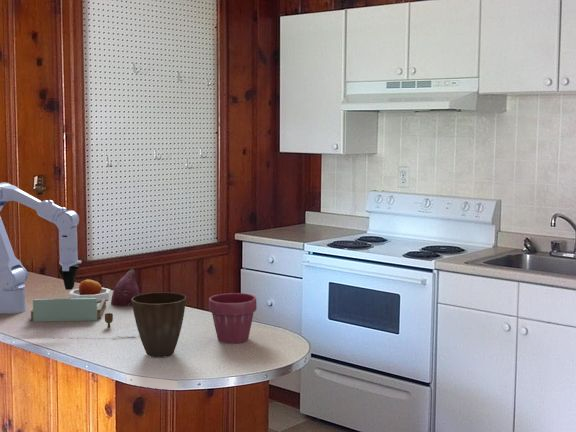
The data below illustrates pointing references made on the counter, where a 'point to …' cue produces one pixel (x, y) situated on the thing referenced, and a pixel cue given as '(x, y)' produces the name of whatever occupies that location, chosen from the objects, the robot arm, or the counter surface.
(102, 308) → the tan lipped tray
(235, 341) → the plant pot
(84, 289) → the fruit
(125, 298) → the vegetable
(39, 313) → the panel
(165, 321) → the plant pot
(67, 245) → the robot arm
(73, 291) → the fruit dish
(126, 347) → the counter surface
